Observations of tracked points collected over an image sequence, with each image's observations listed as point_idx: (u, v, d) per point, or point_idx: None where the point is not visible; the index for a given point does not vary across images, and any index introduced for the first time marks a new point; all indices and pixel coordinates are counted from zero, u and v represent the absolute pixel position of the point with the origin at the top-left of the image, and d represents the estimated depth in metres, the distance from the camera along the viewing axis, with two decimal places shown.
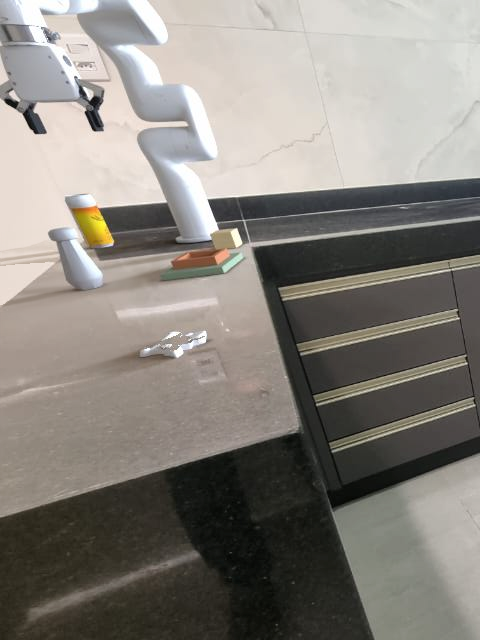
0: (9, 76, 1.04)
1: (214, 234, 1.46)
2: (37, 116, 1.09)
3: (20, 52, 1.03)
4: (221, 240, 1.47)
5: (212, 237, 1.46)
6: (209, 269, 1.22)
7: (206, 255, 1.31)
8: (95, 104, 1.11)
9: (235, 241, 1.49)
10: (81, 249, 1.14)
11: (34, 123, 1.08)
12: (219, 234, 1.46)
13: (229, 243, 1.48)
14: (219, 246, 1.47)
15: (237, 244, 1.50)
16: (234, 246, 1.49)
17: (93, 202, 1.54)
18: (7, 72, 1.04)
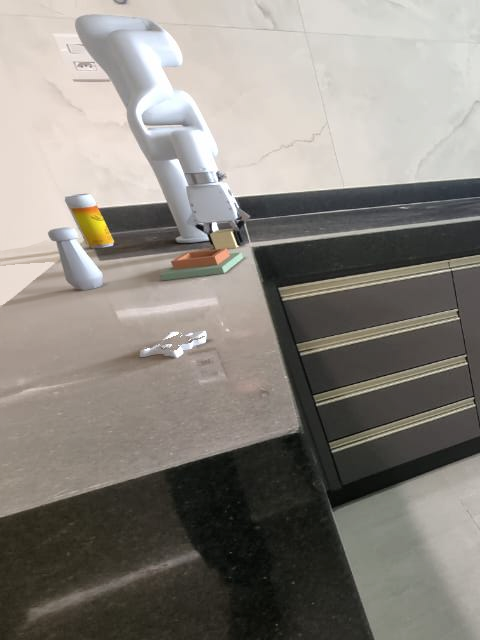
0: (191, 207, 1.43)
1: (214, 234, 1.46)
2: None
3: (201, 190, 1.41)
4: (221, 240, 1.47)
5: (212, 237, 1.46)
6: (209, 269, 1.22)
7: (206, 255, 1.31)
8: (240, 226, 1.49)
9: (235, 241, 1.49)
10: (81, 249, 1.14)
11: None
12: (219, 234, 1.46)
13: (229, 243, 1.48)
14: (219, 246, 1.47)
15: None
16: (234, 246, 1.49)
17: (93, 202, 1.54)
18: (190, 204, 1.42)
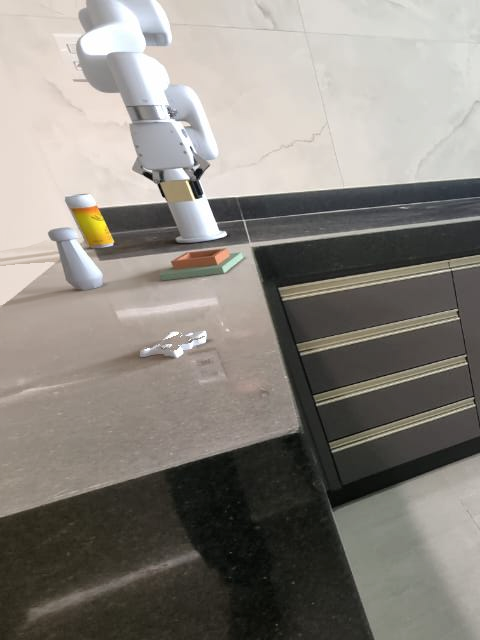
0: (136, 149, 1.18)
1: (165, 183, 1.21)
2: None
3: (147, 128, 1.17)
4: (174, 191, 1.22)
5: (163, 187, 1.21)
6: (209, 269, 1.22)
7: (206, 255, 1.31)
8: (198, 175, 1.24)
9: (191, 193, 1.24)
10: (81, 249, 1.14)
11: None
12: (171, 183, 1.21)
13: (184, 195, 1.23)
14: (172, 199, 1.23)
15: (194, 197, 1.25)
16: (190, 199, 1.24)
17: (93, 202, 1.54)
18: (135, 145, 1.18)
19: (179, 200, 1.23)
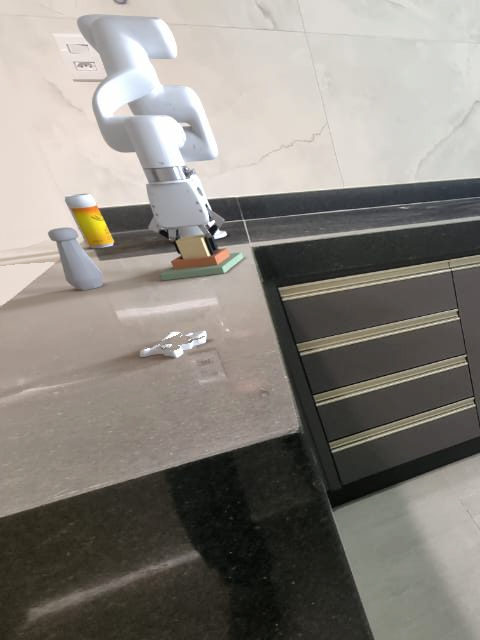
0: (153, 209, 1.19)
1: (181, 241, 1.22)
2: None
3: (164, 188, 1.18)
4: (189, 248, 1.23)
5: (179, 245, 1.22)
6: (209, 269, 1.22)
7: None
8: (213, 232, 1.25)
9: (206, 249, 1.25)
10: (81, 249, 1.14)
11: None
12: (187, 241, 1.23)
13: (199, 252, 1.24)
14: (188, 256, 1.24)
15: (209, 253, 1.26)
16: (205, 255, 1.25)
17: (93, 202, 1.54)
18: (152, 205, 1.19)
19: (194, 257, 1.24)
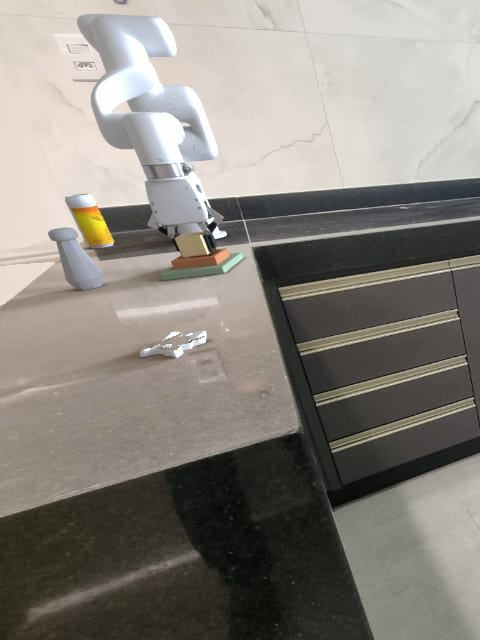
0: (152, 206, 1.19)
1: (180, 238, 1.22)
2: None
3: (163, 185, 1.18)
4: (188, 245, 1.23)
5: (178, 242, 1.22)
6: (209, 269, 1.22)
7: (206, 255, 1.31)
8: (212, 229, 1.25)
9: (205, 247, 1.25)
10: (81, 249, 1.14)
11: None
12: (186, 238, 1.22)
13: (199, 249, 1.24)
14: (187, 253, 1.24)
15: (208, 250, 1.26)
16: (204, 252, 1.25)
17: (93, 202, 1.54)
18: (151, 202, 1.18)
19: (193, 254, 1.24)
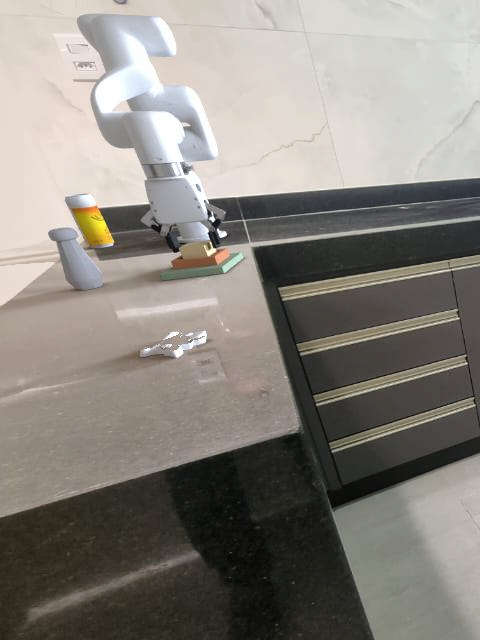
0: (151, 205, 1.19)
1: (184, 248, 1.23)
2: (175, 236, 1.25)
3: (162, 184, 1.18)
4: (192, 255, 1.24)
5: (182, 252, 1.23)
6: (209, 269, 1.22)
7: None
8: (216, 225, 1.25)
9: None
10: (81, 249, 1.14)
11: (174, 244, 1.23)
12: (190, 248, 1.23)
13: None
14: None
15: None
16: None
17: (93, 202, 1.54)
18: (150, 202, 1.18)
19: None
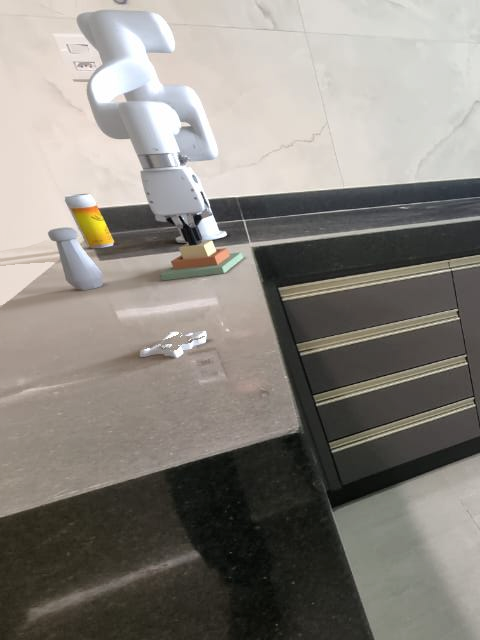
0: (147, 196, 1.18)
1: (184, 248, 1.23)
2: None
3: (158, 175, 1.17)
4: (192, 255, 1.24)
5: (182, 252, 1.23)
6: (209, 269, 1.22)
7: None
8: (196, 221, 1.24)
9: None
10: (81, 249, 1.14)
11: (189, 236, 1.24)
12: (190, 248, 1.23)
13: None
14: None
15: None
16: None
17: (93, 202, 1.54)
18: (146, 193, 1.17)
19: None
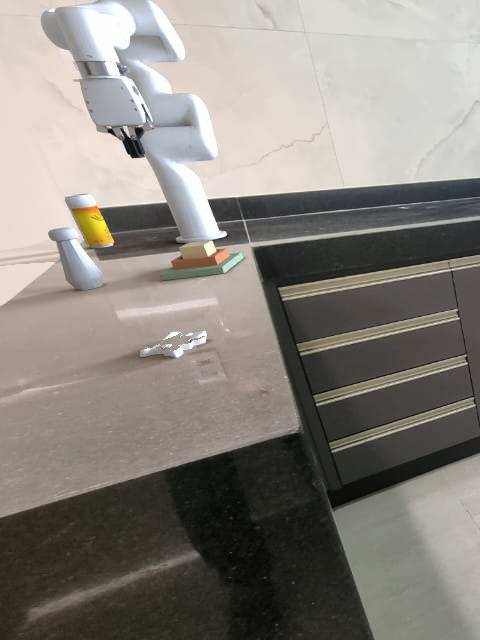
0: (87, 105, 1.20)
1: (184, 248, 1.23)
2: None
3: (97, 84, 1.19)
4: (192, 255, 1.24)
5: (182, 252, 1.23)
6: (209, 269, 1.22)
7: None
8: (138, 134, 1.26)
9: None
10: (81, 249, 1.14)
11: (131, 149, 1.26)
12: (190, 248, 1.23)
13: None
14: None
15: None
16: None
17: (93, 202, 1.54)
18: (86, 101, 1.20)
19: None
